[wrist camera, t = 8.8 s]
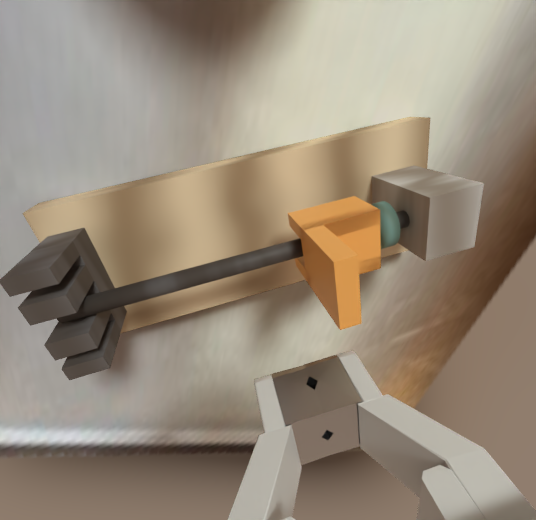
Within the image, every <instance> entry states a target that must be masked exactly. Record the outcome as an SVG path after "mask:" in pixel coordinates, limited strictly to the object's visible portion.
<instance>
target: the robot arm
mask: <svg viewBox="0 0 536 520" xmlns="http://www.w3.org/2000/svg"><path fill="white" fill-rule="evenodd" d="M254 385H255V390H256V395H257V400H258V404H259V409H260V414H261V419H262V424H263V429H264V433H263V434H260V435H259V436H258V439H257V442H256V444H255V447H254V450H253V452H252V455H251V458H250V460H249V463H248V466H247V469H246V471H245V474H244V477H243V479H242V482H241V485H240V487H239V490H238V493H237V496H236V498H235V501H234V504H233V506H232V509H231V512H230V514H229V517H228V520H295V519H294V518H292V515H293V510H294V505H295V500H296V494H297V489H298V484H299V479H300V473H301V468H302V467H301V465H304V464H306V463H309V462H312V461H315V460H317V459H320V458H323V457H326V456H328V455H332V454H335V453H338V452H342V451H345V450H349V449H352V448H355V447H359V446H360V448H361V449H362V450H364V451H365V452H366V453H367V454H368V455H370V456H371V457H372V458H373V459H374V460H375V461H377V462H378V463H379V464H380V465H382V466H383V467H384V468H385V469H386V470H387V471H388V472H390V473H391V474H392V475H393V476H394V477H395V478H397V479H398V480H399V481H400V482H401V483H403V484H404V485H405V486H406V487H407V488H408V489H410V490H411V491H412V492H413V493H414V494H416V495H417V496H418V497H419V505H418V513H417V520H536V510H535V509H534V508H533V507H532V506H531V504H530V503H529V502H528V501H527V500H526V498H525V497H524V496H523V495H522V494H521V493H520V491H519V490H518V489H517V488H516V486H515V485H514V484H513V483H512V481H511V480H510V479H509V478H508V477H507V475H506V474H505V473H504V472H503V471H502V469H501V468H500V467H499V466H498V464H497V463H496V462H495V461H494V460H493V458H492V457H491V456H490V455H489V454H488V452H487V451H486V450H485V449H484V448H483V447H481V446H479V445H477V444H476V443H474V442H472V441H470V440H468V439H467V438H465V437H463V436H461V435H460V434H458V433H456V432H454V431H452V430H451V429H449V428H447V427H445V426H444V425H441V424H440V423H438V422H436V421H435V420H433V419H431V418H429V417H428V416H426V415H424V414H422V413H420V412H419V411H417V410H415V409H413V408H412V407H410V406H408V405H406V404H404V403H403V402H401V401H399V400H397V399H396V398H394V397H392V396H390V395H388V394H387V395H382V394H381V392H380V390H379V389H378V387H377V386H376V384H375V383H374V381H373V379H372V378H371V376H370V375H369V373H368V372H367V370H366V368H365V367H364V365H363V364H362V362H361V361H360V359H359V358H358V356H357V354H356V353H355V352H354V351H353V350H351V351H348V352H344V353H341V354H338V355H336V356H335V355H333V356H330V357H327V358H324V359H321V360H317V361H314V362H311V363H308V364H305V365H303V366H299V367H296V368H292V369H288V370H285V371H281V372H277V373H273V374H272V376H271V374H270V375H267V376H263V377H260V378H256V379H254Z"/></svg>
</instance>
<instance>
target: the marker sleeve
mask: <svg viewBox="0 0 536 520" xmlns="http://www.w3.org/2000/svg"><path fill="white" fill-rule="evenodd" d="M288 219H289V225H290V227H291V228H292V230H293V231H294V232H295V233H296V234H297V235H298V237H299V238H300V239H301V243H302V250H303V256H302V257H298V258H295V262H296V266H297V268H298V269H299V271H300V272H301V274H302V275H303V277H304V278H305V279H306V281H307V282H308V284H309V285H310V287H311V288H312V290H313V291H314V293H315V294H316V296H317V297H318V298H319V300H320V301H321V303H322V304H323V306H324V307H325V309H326V310H327V312H328V313H329V315H330V316H331V318H332V319H333V320H334V322H335V323H336V325H337V326H338V328H339V329H340V330H342V329H345V328H348V327H351V326H355V325H358V324H361V303H360V282H359V274H363V273H366V272H370V271H373V270H377V269H380V268H381V241H380V209H378V208H376V207H374V206H373V205H371V204H369V203H367V202H365V201H363V200H361V199H359V198H357V197H356V196H352V197H348V198H344V199H341V200H337V201H333V202H329V203H325V204H321V205H317V206H314V207H310V208H306V209H302V210H298V211H294V212H290V213H288Z"/></svg>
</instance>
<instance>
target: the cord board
mask: <svg viewBox="0 0 536 520" xmlns="http://www.w3.org/2000/svg"><path fill="white" fill-rule="evenodd" d="M429 129H430V118H424V117H407V118H403V119H399V120H395V121H390V122H386V123H382V124H377V125H373V126H369V127H364V128H360V129H356V130H352V131H347V132H343V133H339V134H334V135H330V136H326V137H321V138H317V139H313V140H308V141H304V142H300V143H296V144H291V145H287V146H283V147H278V148H274V149H270V150H265V151H261V152H257V153H253V154H248V155H244V156H240V157H235V158H231V159H227V160H222V161H218V162H214V163H210V164H205V165H201V166H197V167H192V168H188V169H184V170H179V171H175V172H171V173H167V174H162V175H158V176H154V177H149V178H145V179H141V180H136V181H132V182H128V183H124V184H119V185H115V186H111V187H106V188H102V189H98V190H93V191H89V192H85V193H80V194H76V195H72V196H68V197H63V198H59V199H55V200H50V201H46V202H42V203H38V204H37V205H35V206H34V207H32V208H30V209H29V210H27V211H26V212H24V213H23V215H24V217H25V218H26V220H27V222H28V223H29V225H30V227H31V228H32V230H33V232H34V233H35V235H36V237H37V238H38V240H39V242H40V244H39V245H37V246H36V247H35V248H34V249H33V250H32V251H31V252H30V253H29V254H28V255H27V256H25V257H24V258H23V259H22V260H21V261H20V262H19V263H18V264H17V265H16V266H14V267H13V268H12V269H11V270H10V271H9V272H8V273H7V274H6V275H5V276H4V277H2V278H1V279H0V284H1V285H2V286H3V288H4V289H5V291H6V292H7V293H8V295H9V296H14V295H18V294H22V293H26V292H29V291H32V292H31V293H30V294H29V295H28V297H27V298H26V299H25V300H24V301H23V302H22V304H21V305H20V306H19V307H18V309H19V310H20V312H21V313H22V314H23V316H24V317H25V319H26V320H27V321H28V323H29V324H30V325H34V324H38V323H41V322H45V321H49V320H52V319H56V318H57V320H58V321H59V322H58V324H57V325H56V327H55V329H54V330H53V332H52V333H51V335H50V337H49V338H48V340H47V342H46V343H45V347H46V348H47V349H48V351H49V352H50V354H51V355H52V356H53V358H54V359H55V360H58V359H62V358H65V357H67V359H66V361H65V363H64V365H63V367H62V371H63V372H64V373H65V375H66V376H67V378H68V379H69V380H72V379H75V378H78V377H82V376H85V375H88V374H92V373H95V372H98V371H102V370H105V369H108V368H110V366H111V363H112V359H113V356H114V353H115V349H116V346H117V343H118V339H119V336H120V333H123V332H127V331H130V330H134V329H137V328H141V327H144V326H148V325H151V324H155V323H158V322H162V321H165V320H168V319H172V318H175V317H179V316H182V315H186V314H189V313H193V312H196V311H200V310H203V309H207V308H210V307H214V306H217V305H220V304H224V303H227V302H231V301H234V300H238V299H241V298H245V297H248V296H252V295H255V294H259V293H262V292H266V291H269V290H273V289H276V288H279V287H283V286H286V285H290V284H293V283H297V282H300V281H304V280H306V279H305V278H304V277H303V275H302V274H301V272H300V271H299V269H298V268H297V266H296V262H295V258H298V257H302V256H303V250H302V243H301V239H300V238H299V237H298V235H297V234H296V233H295V232H294V231H293V230H292V228H291V227H290V225H289V219H288V213H290V212H294V211H298V210H302V209H306V208H310V207H314V206H317V205H321V204H325V203H329V202H333V201H337V200H341V199H344V198H348V197H352V196H356V197H357V198H359V199H361V200H363V201H365V202H367V203H369V204H371V205H373V206H374V207H376V208H378V209H380V241H381V258H383V257H387V256H390V255H394V254H397V253H401V252H404V251H408V250H409V251H411V252H412V253H414V254H415V255H417V256H419V257H420V258H422V259H423V260H425V261H428V260H431V259H435V258H438V257H442V256H445V255H448V254H452V253H455V252H459V251H462V250H465V249H469V248H472V247H474V245H475V239H476V232H477V226H478V219H479V212H480V206H481V199H482V193H483V186H484V183H481V182H477V181H473V180H469V179H465V178H461V177H457V176H453V175H449V174H445V173H441V172H438V171H434V170H430V169H427V161H428V145H429Z"/></svg>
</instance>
